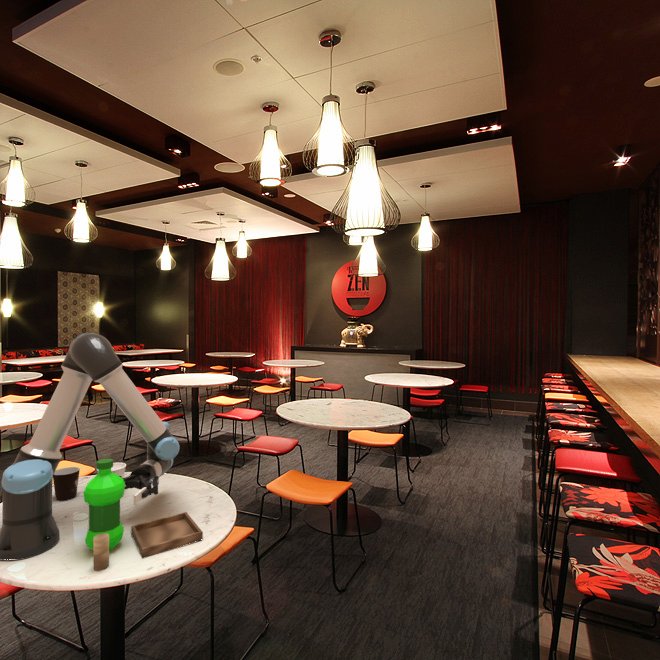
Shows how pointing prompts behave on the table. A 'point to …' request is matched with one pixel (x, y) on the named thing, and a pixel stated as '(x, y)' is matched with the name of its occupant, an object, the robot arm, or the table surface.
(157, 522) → the tray
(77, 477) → the coffee mug
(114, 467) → the cup
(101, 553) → the peg
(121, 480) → the plastic bottle
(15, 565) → the table surface
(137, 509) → the table surface
